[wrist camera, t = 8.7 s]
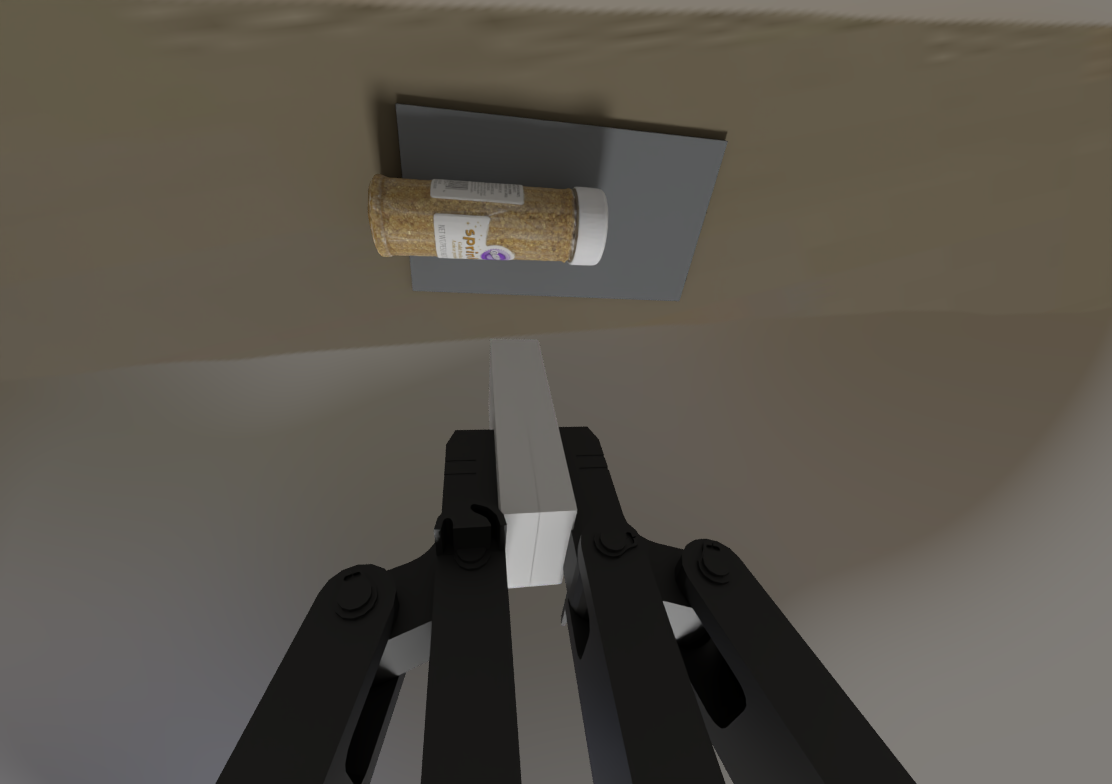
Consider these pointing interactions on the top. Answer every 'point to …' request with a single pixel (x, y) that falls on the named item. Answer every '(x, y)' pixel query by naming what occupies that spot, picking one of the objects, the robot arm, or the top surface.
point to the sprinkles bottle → (487, 220)
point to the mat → (566, 162)
